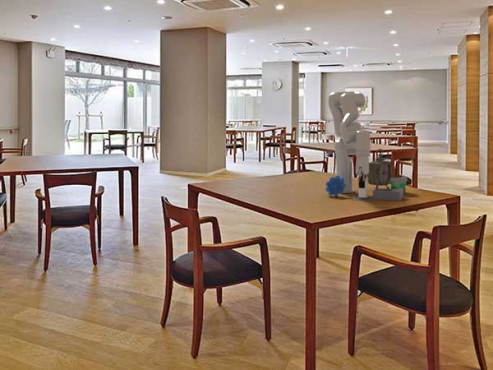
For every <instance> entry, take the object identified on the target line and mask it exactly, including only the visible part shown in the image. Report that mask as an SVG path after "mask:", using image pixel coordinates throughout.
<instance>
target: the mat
mask: <svg viewBox="0 0 493 370" xmlns="http://www.w3.org/2000/svg"><path fill="white" fill-rule="evenodd" d="M372 200H374V199H373V197H369V196H368V197H366V198H364V197H359V196H356V197H354V198H352V199H351V201H360V202H361V201H363V202H371V201H372Z"/></svg>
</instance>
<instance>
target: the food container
mask: <svg viewBox="0 0 493 370" xmlns="http://www.w3.org/2000/svg"><path fill="white" fill-rule="evenodd" d="M390 181H391V183H390V189H403V195H404V194H406V188H407V182H408V177H407V176H406V175H401V176H400V177H398V176H397V177H392V178H390Z"/></svg>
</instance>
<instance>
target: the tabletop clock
mask: <svg viewBox="0 0 493 370" xmlns="http://www.w3.org/2000/svg"><path fill="white" fill-rule="evenodd" d="M379 151H381V152H382V153H378V152H379ZM375 153H376V154H375V155H376V156H377V157H376V158H375V160H373V161H369V173H368V174H367V177H368V185H372V186H375V188H374V190H375V189H377V188H379V186H381V187H382V186H383V187H384V186H385V187H386V189H391V187H390V186H389V185H391V181H390V178H393V176H394V175H393V174H394V173H393V171H394V170H393V168H394V167H393V163H392V161H390V160H385V158H384V156H383V154H384V149H382V148H379V149H377V150H376V152H375Z"/></svg>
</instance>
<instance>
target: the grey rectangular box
mask: <svg viewBox="0 0 493 370" xmlns="http://www.w3.org/2000/svg"><path fill="white" fill-rule="evenodd" d="M372 198H373V199H372V200H379V201H398V202H399V201H401V200H402V199H404V194H403V189H391V188H390V189H387V188H381V187H380V188H379V187H378V188H377V189H375V188H374V189H373V190H372Z"/></svg>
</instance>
